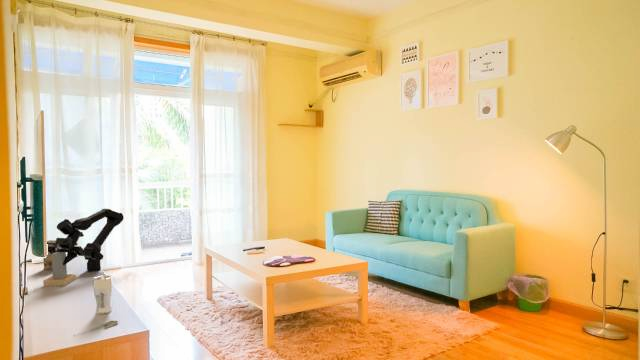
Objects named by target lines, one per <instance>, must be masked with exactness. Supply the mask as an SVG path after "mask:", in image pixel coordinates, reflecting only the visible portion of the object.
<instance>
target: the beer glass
mask: <svg viewBox="0 0 640 360" xmlns="http://www.w3.org/2000/svg"><path fill="white" fill-rule="evenodd" d="M111 277H112V276H111V275H99V276H96V277H94V278H93V293H94V299H95V303H96V309H95V314H97V315H106V314H108V313H111V311H112V306H111V298H112V297H111V296H112V290H113V289H112V288H113V286H112V278H111Z"/></svg>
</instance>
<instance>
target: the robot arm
mask: <svg viewBox="0 0 640 360" xmlns="http://www.w3.org/2000/svg"><path fill="white" fill-rule="evenodd" d="M105 218H106V224H105V225H104V227H102V229H100V232H99V233H98V235H97V236H96V237H95V239H94V240H93V241H92V242H88V243H86V245H85V246H84V247H82V246H79V245H78V244H79V243H78V241H79V239H80V238H82V237H84V235H85V234H84V232H83V231H87V230H88V229H90V228H91V227H92V226H93V224H94V223H97V222H99V221H100V220H102V219H105ZM123 221H124V215H123V213H122V212H117V211H115V210H112V209H111V208H102V209H101V210H99V211H96V212H95V213H93V214H91V215H89V216H86V217H82V218H78V219H75V220H74V221H73V222H71V221H70V220H69V219H67V218H65V219H63V220H62V221H60V222H59V223H58V224H57V225H56V230H58V231H59V232H61V233H62V234H63V235H64V236H66V237H56V238H55V241H56V242H55V244H58V245H59V247H61V248H57V247H56V246H48V252H49V253H50V254H51V255H52V254H53V253H55V252H66V258H65V260H64V262H63V265H65V264H66V265H67V264H68V263H69V262H71V261H72V260H74V259H75V258H78V256H79V257H84V260H86V261H87V262H86V270H87V272H96V271H97V272H98V271H101V269H102V267H101V266H102V265H101V260H104V255H103V254H102V253H101V251H102V246H103V244H104V243H105V241H106V240H107V239H108V237H109V235H110V234H111V233H112V231H113V230H114V229H115V227H117V226H119V225H120V224H121V223H122V222H123Z"/></svg>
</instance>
